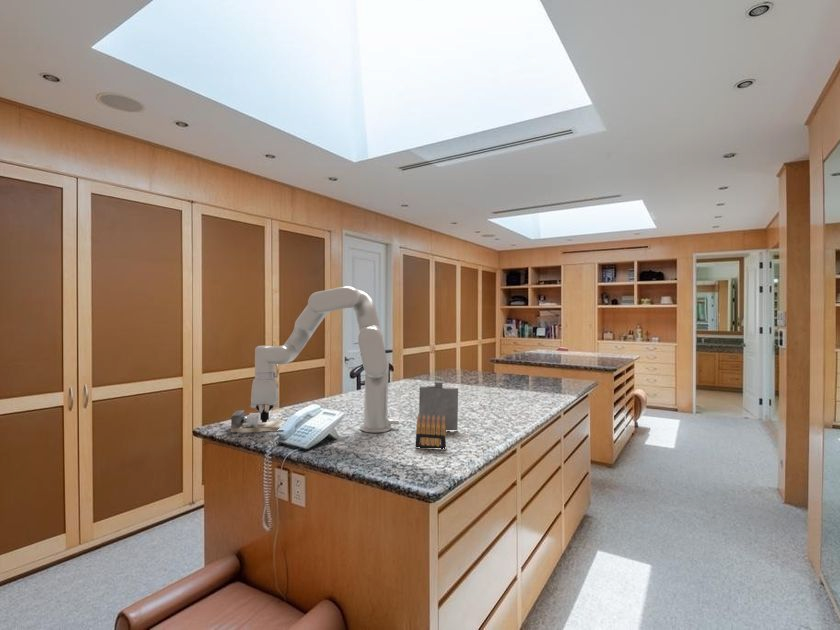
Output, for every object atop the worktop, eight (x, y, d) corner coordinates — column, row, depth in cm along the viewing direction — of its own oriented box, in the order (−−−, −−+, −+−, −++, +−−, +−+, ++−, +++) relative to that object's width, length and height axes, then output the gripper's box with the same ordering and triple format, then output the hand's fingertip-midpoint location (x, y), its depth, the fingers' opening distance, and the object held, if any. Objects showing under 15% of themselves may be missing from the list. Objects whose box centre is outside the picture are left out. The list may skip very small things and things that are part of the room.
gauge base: (287, 424, 181) (287, 409, 181) (284, 431, 171) (284, 414, 171) (236, 426, 177) (236, 410, 177) (230, 432, 167) (231, 415, 167)
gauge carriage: (260, 422, 178) (260, 412, 178) (256, 428, 168) (256, 418, 168) (243, 422, 176) (243, 413, 176) (238, 428, 167) (238, 418, 167)
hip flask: (457, 430, 177) (458, 381, 177) (456, 433, 173) (457, 383, 173) (419, 428, 180) (420, 380, 180) (417, 430, 176) (418, 381, 176)
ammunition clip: (415, 448, 152) (415, 414, 152) (416, 446, 154) (416, 413, 154) (445, 450, 151) (446, 415, 151) (445, 448, 153) (446, 414, 153)
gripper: (285, 374, 180) (284, 418, 180) (247, 375, 177) (247, 420, 177) (282, 377, 172) (282, 423, 172) (243, 378, 169) (243, 424, 169)
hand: (264, 421), depth 175 cm, fingers closed
